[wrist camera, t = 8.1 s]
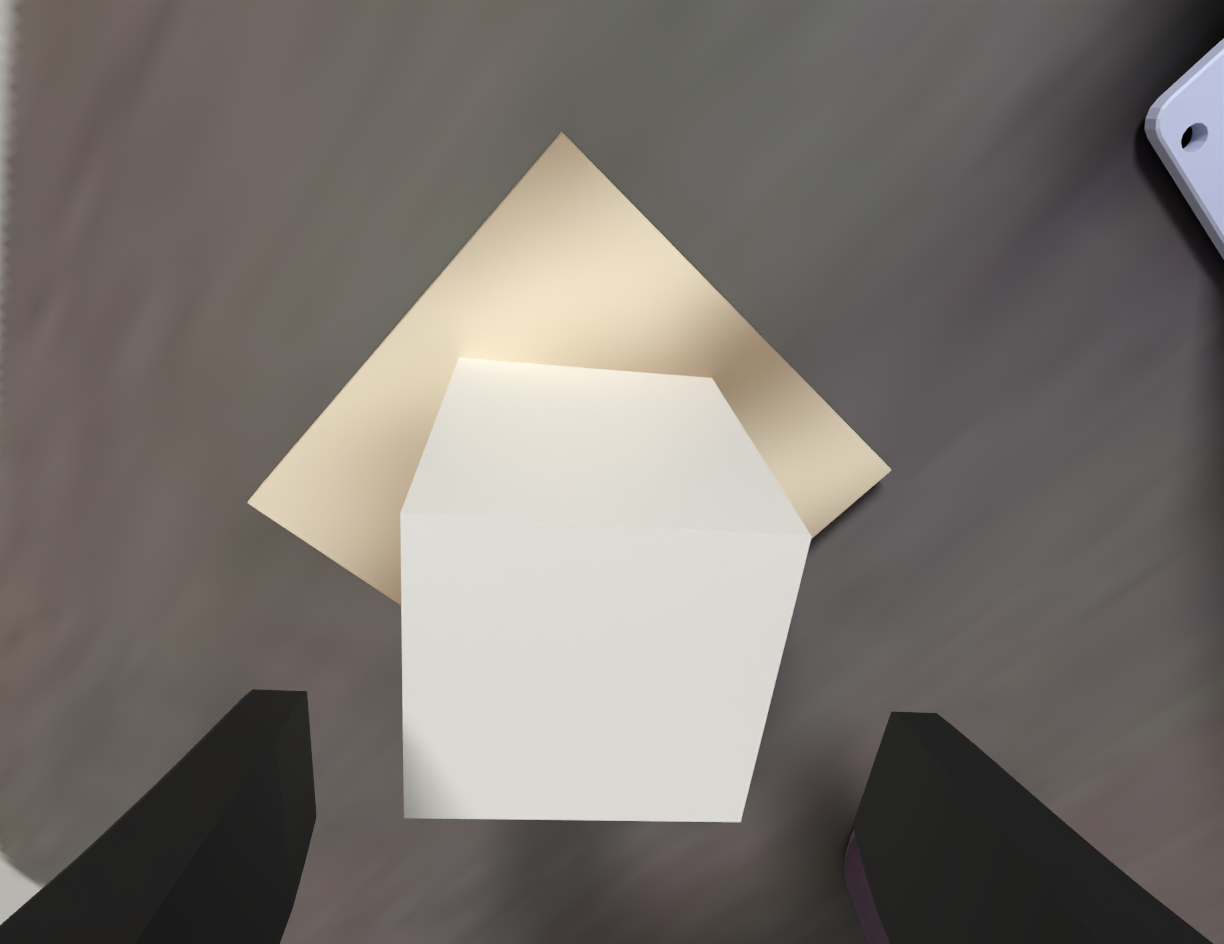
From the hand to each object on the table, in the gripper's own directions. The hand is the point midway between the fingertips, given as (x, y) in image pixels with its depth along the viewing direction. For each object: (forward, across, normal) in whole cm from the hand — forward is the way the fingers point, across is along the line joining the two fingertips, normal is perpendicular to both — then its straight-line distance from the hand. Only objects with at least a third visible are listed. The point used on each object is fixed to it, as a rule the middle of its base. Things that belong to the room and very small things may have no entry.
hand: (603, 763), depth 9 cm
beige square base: (+9, 0, 0) cm, 9 cm away
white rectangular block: (+8, 0, 0) cm, 8 cm away
